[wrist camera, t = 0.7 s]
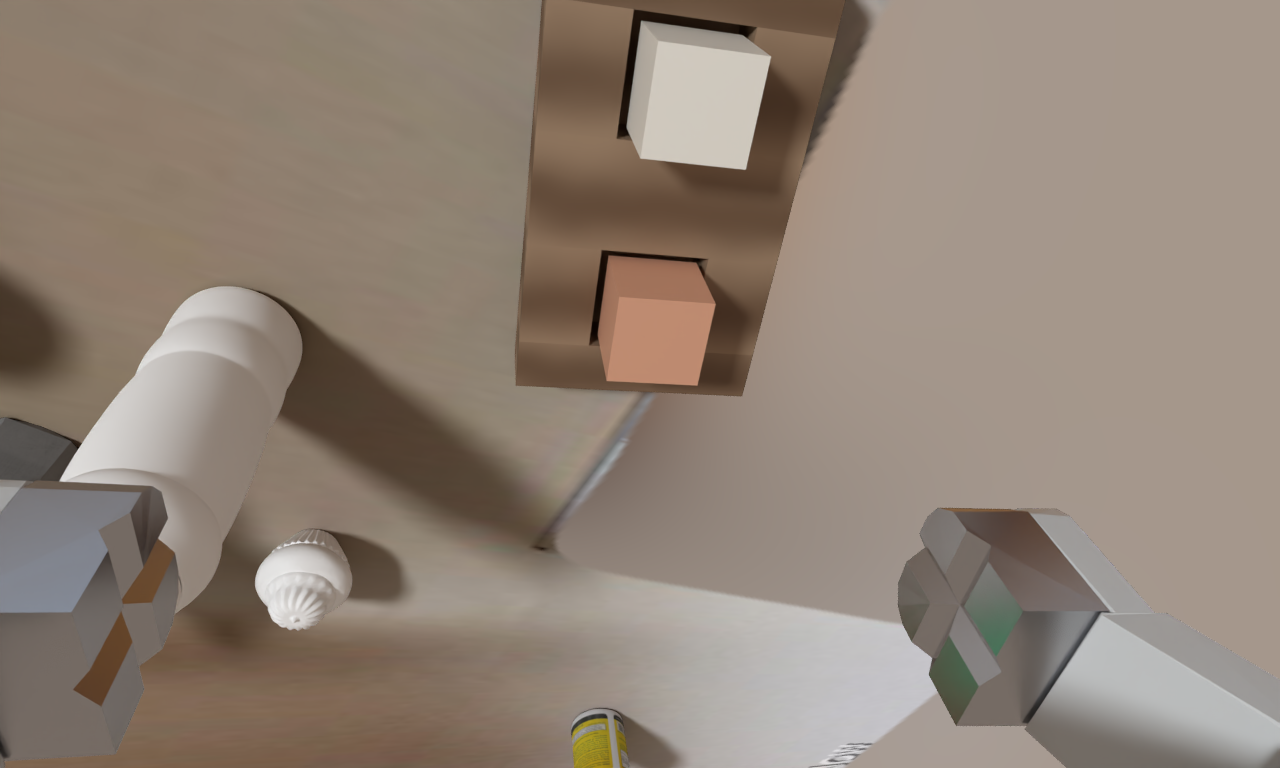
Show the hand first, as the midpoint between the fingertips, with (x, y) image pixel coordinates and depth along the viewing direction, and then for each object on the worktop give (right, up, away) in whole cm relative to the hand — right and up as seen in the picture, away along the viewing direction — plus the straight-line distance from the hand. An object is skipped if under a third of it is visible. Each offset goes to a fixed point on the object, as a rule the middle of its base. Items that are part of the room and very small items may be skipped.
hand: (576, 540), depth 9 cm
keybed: (+1, +14, +37) cm, 39 cm away
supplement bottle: (-3, -29, +65) cm, 71 cm away
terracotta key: (+1, +7, +37) cm, 38 cm away
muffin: (-22, -10, +48) cm, 54 cm away
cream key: (+3, +17, +31) cm, 35 cm away
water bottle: (-23, +5, +39) cm, 45 cm away
